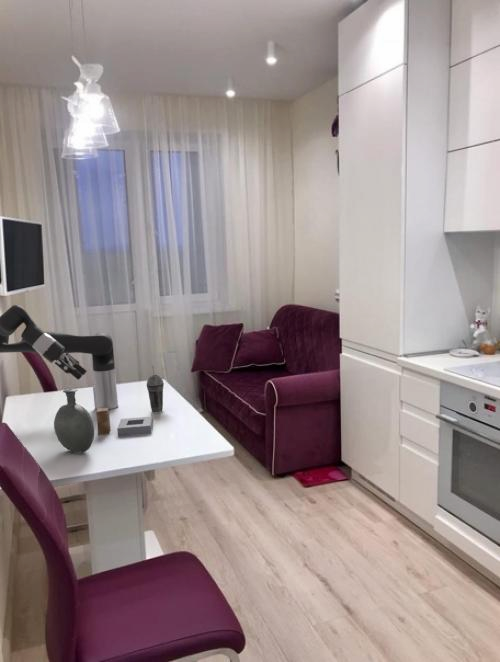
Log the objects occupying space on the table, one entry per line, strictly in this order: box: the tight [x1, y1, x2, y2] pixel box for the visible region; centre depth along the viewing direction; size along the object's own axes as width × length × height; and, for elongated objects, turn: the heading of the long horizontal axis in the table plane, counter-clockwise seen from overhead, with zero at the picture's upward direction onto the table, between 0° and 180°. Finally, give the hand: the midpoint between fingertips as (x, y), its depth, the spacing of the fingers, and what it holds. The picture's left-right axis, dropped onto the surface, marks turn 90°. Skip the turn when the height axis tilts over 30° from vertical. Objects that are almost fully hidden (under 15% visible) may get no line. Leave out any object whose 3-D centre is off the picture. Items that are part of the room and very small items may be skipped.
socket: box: [116, 415, 154, 437], centre depth 199 cm, size 12×12×3 cm
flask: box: [53, 388, 95, 454], centre depth 177 cm, size 12×17×22 cm
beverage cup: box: [146, 365, 164, 413], centre depth 222 cm, size 7×7×20 cm
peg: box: [95, 408, 111, 436], centre depth 197 cm, size 4×4×9 cm
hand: (82, 375), depth 199 cm, fingers open, 8 cm apart
